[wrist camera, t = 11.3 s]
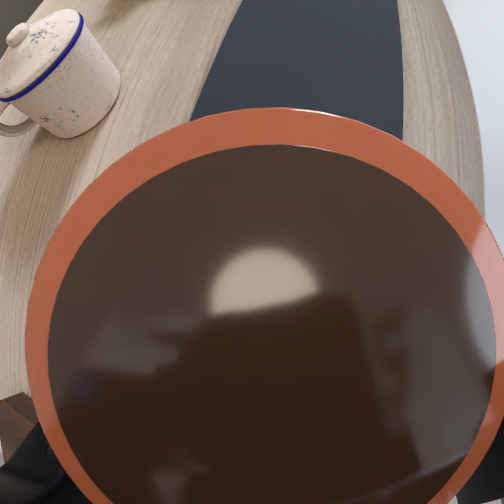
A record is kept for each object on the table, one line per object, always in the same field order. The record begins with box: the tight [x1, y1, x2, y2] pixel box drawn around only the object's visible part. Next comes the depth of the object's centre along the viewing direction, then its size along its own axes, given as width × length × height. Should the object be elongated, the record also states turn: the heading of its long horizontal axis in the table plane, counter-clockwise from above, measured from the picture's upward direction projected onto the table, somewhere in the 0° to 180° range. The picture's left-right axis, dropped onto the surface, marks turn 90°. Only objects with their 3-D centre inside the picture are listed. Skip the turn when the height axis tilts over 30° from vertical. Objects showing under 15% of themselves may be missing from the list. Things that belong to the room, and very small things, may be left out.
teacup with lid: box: [0, 9, 121, 138], centre depth 17 cm, size 12×9×12 cm
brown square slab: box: [0, 392, 39, 463], centre depth 18 cm, size 8×8×4 cm
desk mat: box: [190, 0, 403, 141], centre depth 21 cm, size 40×16×1 cm, turn 166°
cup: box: [25, 107, 504, 504], centre depth 7 cm, size 6×6×9 cm
